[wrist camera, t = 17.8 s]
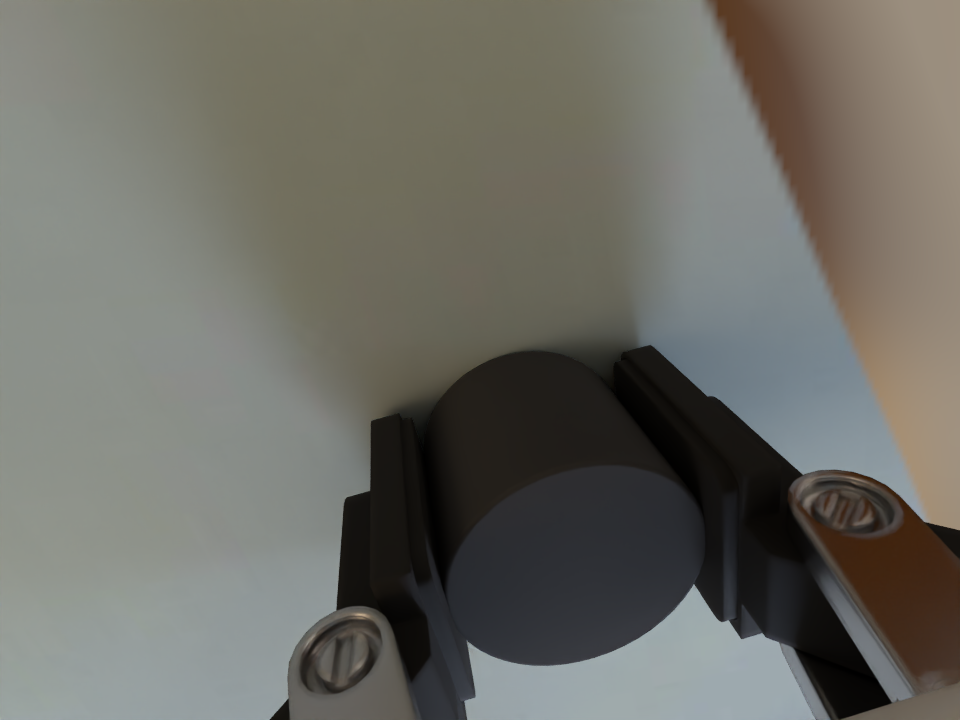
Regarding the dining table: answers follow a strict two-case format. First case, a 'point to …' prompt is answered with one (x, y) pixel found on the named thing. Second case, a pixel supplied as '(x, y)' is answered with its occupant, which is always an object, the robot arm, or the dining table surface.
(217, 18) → the dining table surface
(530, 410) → the dot
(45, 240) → the dining table surface
